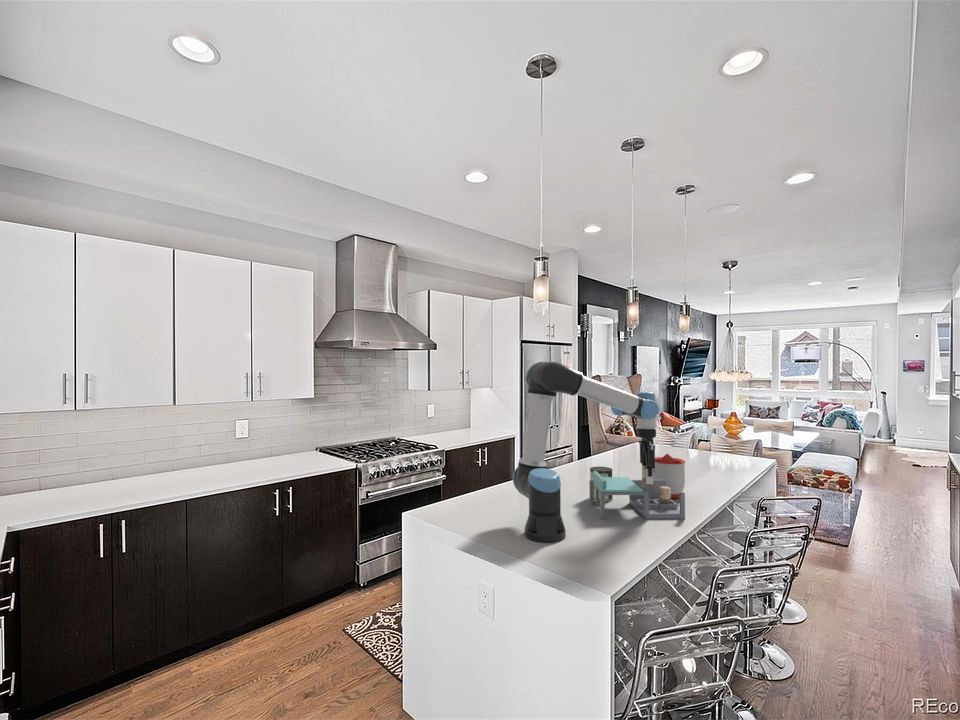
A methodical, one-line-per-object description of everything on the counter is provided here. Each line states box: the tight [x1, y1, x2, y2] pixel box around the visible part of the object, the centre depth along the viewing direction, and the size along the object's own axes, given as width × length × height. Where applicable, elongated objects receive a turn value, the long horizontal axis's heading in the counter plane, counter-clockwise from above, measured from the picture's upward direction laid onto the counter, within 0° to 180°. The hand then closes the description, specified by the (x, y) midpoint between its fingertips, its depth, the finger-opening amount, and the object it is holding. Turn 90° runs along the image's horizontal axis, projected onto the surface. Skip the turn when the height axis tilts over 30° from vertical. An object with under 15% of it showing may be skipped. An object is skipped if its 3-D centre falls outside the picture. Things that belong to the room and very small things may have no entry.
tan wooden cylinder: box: [659, 486, 672, 504], centre depth 201 cm, size 4×4×8 cm
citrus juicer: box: [653, 453, 686, 499], centre depth 225 cm, size 16×17×20 cm
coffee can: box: [589, 466, 614, 503], centre depth 220 cm, size 10×10×14 cm
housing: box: [588, 479, 686, 520], centre depth 202 cm, size 22×34×10 cm, turn 89°
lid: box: [592, 471, 643, 492], centre depth 202 cm, size 22×16×4 cm
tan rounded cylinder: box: [641, 466, 653, 488], centre depth 201 cm, size 4×4×8 cm
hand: (647, 482), depth 201 cm, fingers closed on tan rounded cylinder, 4 cm apart
